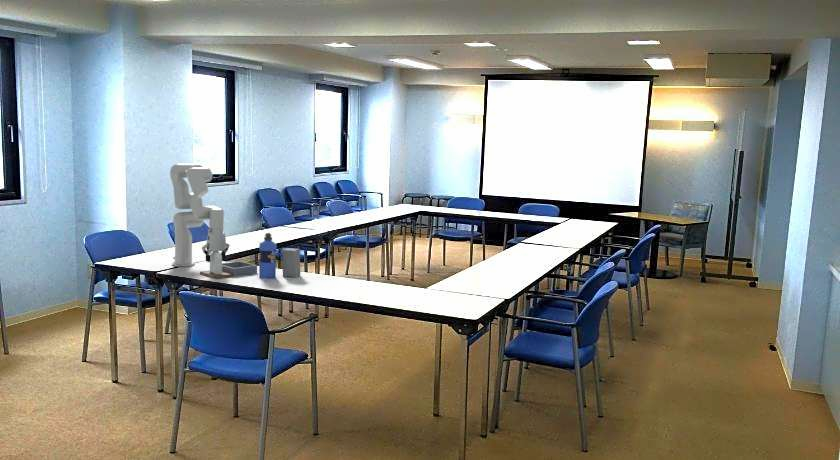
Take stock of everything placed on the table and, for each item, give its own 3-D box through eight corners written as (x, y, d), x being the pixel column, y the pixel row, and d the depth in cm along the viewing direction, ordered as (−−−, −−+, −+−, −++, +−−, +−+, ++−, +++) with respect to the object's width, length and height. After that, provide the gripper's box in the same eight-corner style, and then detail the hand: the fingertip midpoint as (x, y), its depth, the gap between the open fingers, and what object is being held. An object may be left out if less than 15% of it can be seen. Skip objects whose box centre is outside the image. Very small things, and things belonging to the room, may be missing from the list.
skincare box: (300, 275, 402) (301, 248, 399) (294, 278, 395) (295, 250, 393) (287, 274, 404) (288, 247, 402) (281, 276, 398) (281, 248, 395)
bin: (216, 271, 401) (216, 264, 400) (240, 268, 413) (240, 260, 413) (233, 276, 391) (233, 268, 390) (257, 272, 403) (257, 265, 403)
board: (200, 274, 393) (200, 271, 392) (215, 271, 400) (215, 269, 400) (216, 279, 383) (216, 276, 382) (232, 276, 390) (232, 274, 390)
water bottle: (279, 276, 397) (280, 233, 393) (269, 279, 388) (269, 235, 385) (265, 274, 400) (266, 231, 397) (255, 277, 392) (256, 233, 388)
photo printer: (208, 271, 394) (208, 249, 392) (216, 270, 397) (216, 249, 395) (215, 274, 386) (215, 252, 384) (222, 274, 389) (223, 252, 387)
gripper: (206, 232, 379) (205, 263, 382) (233, 230, 392) (232, 260, 395) (198, 230, 384) (198, 261, 387) (225, 228, 397) (224, 257, 400)
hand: (215, 260), depth 391 cm, fingers open, 9 cm apart
